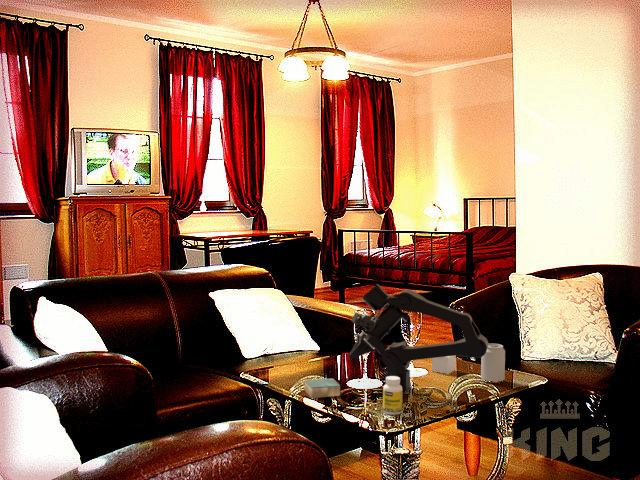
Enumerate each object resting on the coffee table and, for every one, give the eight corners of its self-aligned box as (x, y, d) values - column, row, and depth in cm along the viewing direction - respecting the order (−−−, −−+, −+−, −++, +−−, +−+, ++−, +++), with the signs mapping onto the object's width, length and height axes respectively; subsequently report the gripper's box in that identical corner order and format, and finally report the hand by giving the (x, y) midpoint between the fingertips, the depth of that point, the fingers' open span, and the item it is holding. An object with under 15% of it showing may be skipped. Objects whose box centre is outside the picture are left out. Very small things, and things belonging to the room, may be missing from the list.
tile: (332, 378, 216) (304, 380, 213) (340, 385, 208) (311, 387, 206) (332, 389, 216) (304, 391, 214) (340, 396, 208) (311, 399, 206)
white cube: (431, 372, 236) (432, 354, 236) (439, 368, 241) (439, 351, 241) (448, 374, 233) (448, 357, 232) (455, 370, 238) (455, 353, 237)
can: (506, 379, 226) (507, 343, 225) (502, 385, 220) (503, 348, 219) (483, 377, 229) (484, 341, 229) (478, 382, 223) (479, 346, 222)
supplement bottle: (382, 414, 191) (382, 379, 190) (383, 408, 196) (383, 374, 196) (401, 415, 190) (402, 380, 189) (402, 409, 195) (402, 375, 195)
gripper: (360, 298, 221) (326, 333, 220) (375, 309, 203) (338, 347, 202) (383, 322, 223) (349, 357, 222) (400, 335, 205) (363, 372, 204)
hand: (349, 357), depth 212 cm, fingers closed
